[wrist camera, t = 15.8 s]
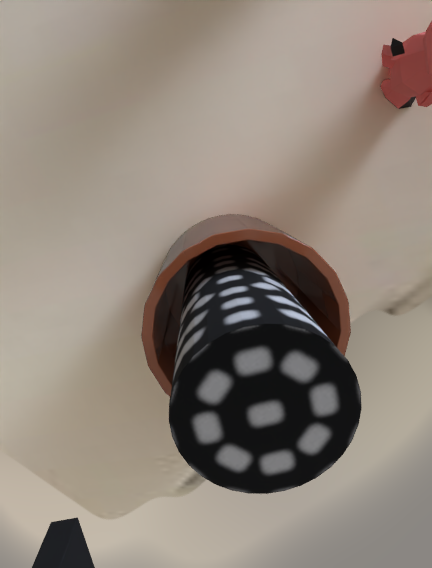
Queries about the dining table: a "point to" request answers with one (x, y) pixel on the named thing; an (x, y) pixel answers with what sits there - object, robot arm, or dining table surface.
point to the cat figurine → (409, 70)
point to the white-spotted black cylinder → (256, 379)
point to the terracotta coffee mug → (276, 254)
